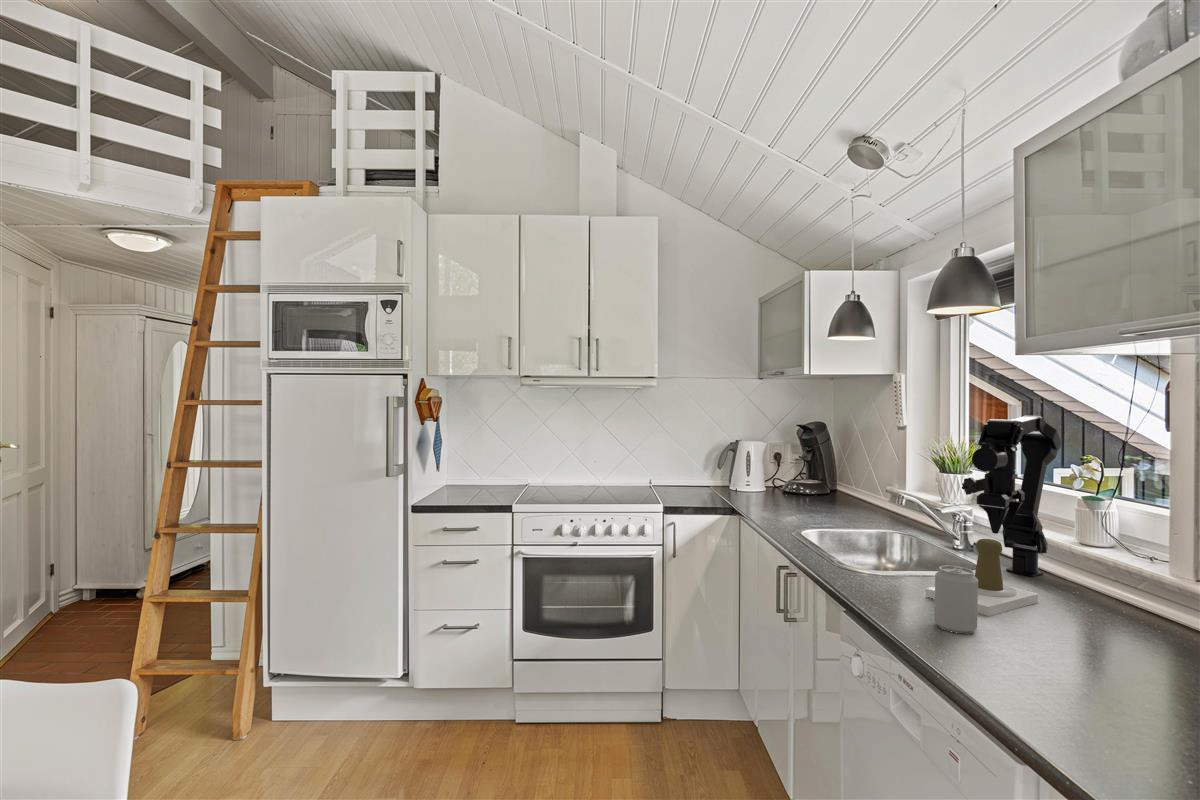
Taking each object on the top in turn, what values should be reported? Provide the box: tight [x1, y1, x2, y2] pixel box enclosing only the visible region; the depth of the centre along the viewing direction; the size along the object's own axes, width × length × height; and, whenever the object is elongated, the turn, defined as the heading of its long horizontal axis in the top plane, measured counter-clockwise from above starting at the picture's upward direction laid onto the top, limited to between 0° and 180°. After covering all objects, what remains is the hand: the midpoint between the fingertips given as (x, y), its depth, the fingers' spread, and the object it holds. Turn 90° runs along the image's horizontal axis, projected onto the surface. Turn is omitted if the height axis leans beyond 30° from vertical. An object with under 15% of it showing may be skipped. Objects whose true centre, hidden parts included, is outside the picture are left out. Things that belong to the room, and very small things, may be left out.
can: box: [933, 565, 978, 634], centre depth 125 cm, size 8×8×12 cm
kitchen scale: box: [925, 584, 1039, 617], centre depth 143 cm, size 20×14×3 cm
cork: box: [974, 538, 1004, 591], centre depth 144 cm, size 6×6×11 cm
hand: (1000, 530), depth 157 cm, fingers open, 9 cm apart
